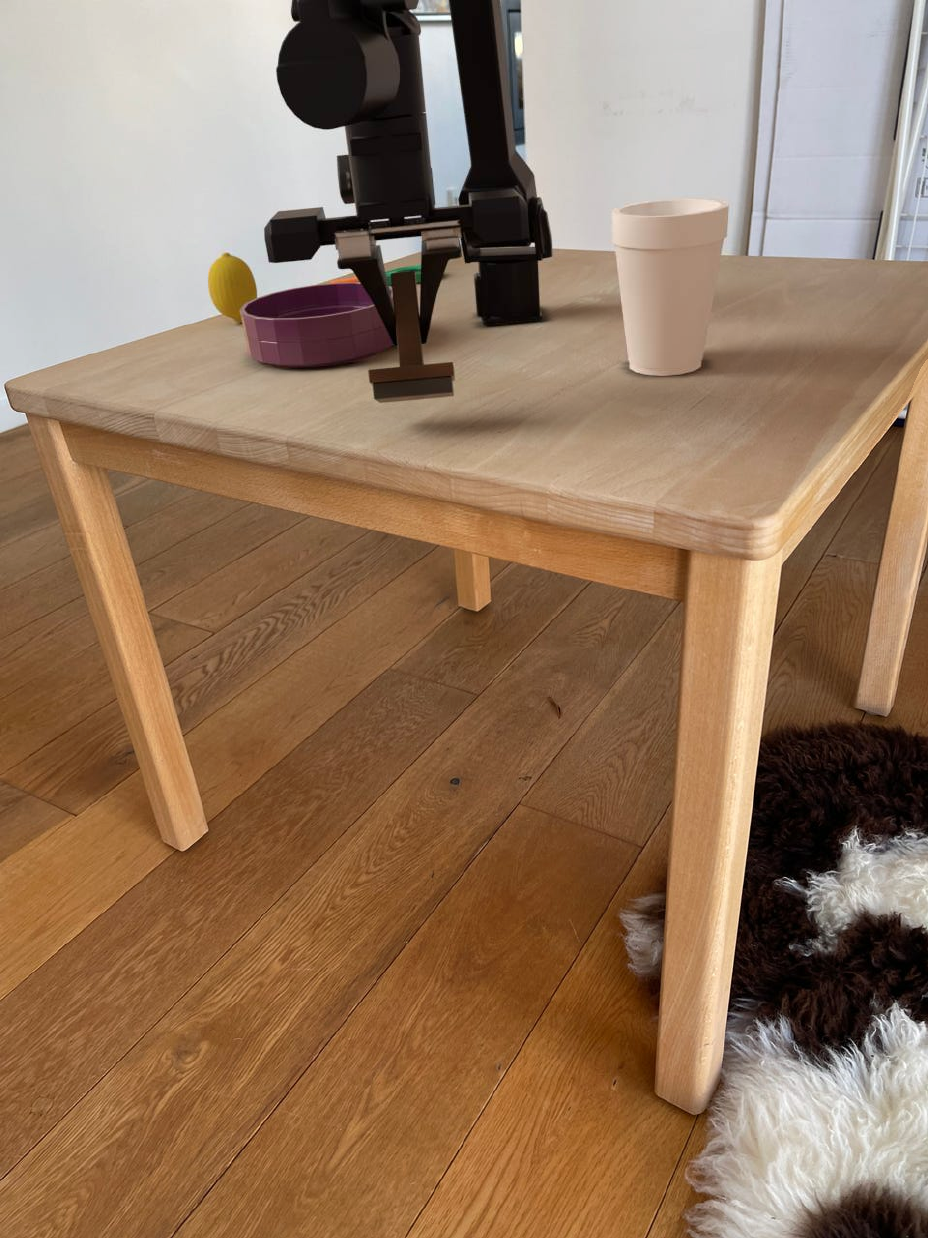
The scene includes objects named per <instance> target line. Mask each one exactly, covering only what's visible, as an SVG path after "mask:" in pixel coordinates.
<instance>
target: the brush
mask: <svg viewBox="0 0 928 1238" xmlns="http://www.w3.org/2000/svg"><path fill="white" fill-rule="evenodd" d="M391 283H392V285H391V287H392V293H393V303H394V313H395V323H396V334H397V344H398V347H397V354H398V364H399V366H393V367H382V368H381V367H380V368H372V369H371V368H370V369H368V370H367V373H368V382H369V384H370V385H371V386H372V392H373V399H374V400H375V401H376V402H377V403H379V404H384V403H385V404H386V403H396V402H397V403H398V402H406V401H418V400H419V401H420V400H428V399H437V398H438V399H439V398H448V397H449V398H450V397H454V396H455V391H454V382H455V381H456V374H455V373H456V372H455V366H454V362H453V361H447V362H446V361H445V362H439V363H438V362H436V363H425V359H424V350H423V349H424V348H423V344H422V341H421V333H420V325H419V321H420V304H419V296H418V283H416V275H415V272H414V271H408V272H398V273H391Z"/></svg>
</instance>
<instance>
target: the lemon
mask: <svg viewBox="0 0 928 1238" xmlns="http://www.w3.org/2000/svg"><path fill="white" fill-rule="evenodd" d="M207 276H208V277H207V286H208V287H207V289H208V293H209V296H210V299H211V301H212V304H213V305H214V307H215V309H216V310H217V311H218V312H219V313H220V314H222V315H223V316H225V317H227V318H230V319H232V320H233V321H235V322H236V323H238V324H240V323H242V320H241V315H240V309H241V307H242V306H243V305H244V304H245V303H247V302H249V301H251V300H253V299H255V298H258V288H257V283H256V279H255V276H254V273H253V272H252V270H251V268H250V266H249V265H248V264H247V262H245V261H244V260H243V259H242V258H239V256H238V257H237V256H234V255H232V254H230V252H223V253H222V254H221V256H219V257H218V258H217V259H215V261H213V262H212V264H211V266H210V267H209V270H208V274H207Z"/></svg>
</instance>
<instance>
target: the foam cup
mask: <svg viewBox="0 0 928 1238" xmlns="http://www.w3.org/2000/svg"><path fill="white" fill-rule="evenodd" d="M729 207H730V206H729V202H728V201H724V200H719V199H715V198H714V199H713V198H710V199H709V198H670V199H659V200H658V199H657V200H648V201H640V202H636V203H630V204H624V205H622V206H619V207H615V208H613V209H612V211H611V244H613V246H614V254H615V260H616V267H617V268H616V269H617V270H616V271H617V278H618V288H619V293H620V294H619V295H620V300H621V301H620V302H621V303H620V304H621V310H622V319H623V327H624V336H625V344H626V351H627V359H628V362H629V370H631V371H633V372H634V373H637V374H640V375H646V376H655V377H657V376H660V377H661V376H662V377H667V376H668V377H669V376H678V375H685V374H688V373H692V372H695V371H697V370H698V369H700V368H701V367H702V360H703V359H704V354H705V347H706V343H707V337H708V330H709V326H710V325H709V324H710V320H711V314H712V309H713V303H714V297H715V292H716V286H717V280H718V275H719V271H720V270H719V269H720V264H721V258H722V252H723V247H724V242H725V239H726V238H727V237H728V224H729Z"/></svg>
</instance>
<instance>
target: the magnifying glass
mask: <svg viewBox="0 0 928 1238" xmlns="http://www.w3.org/2000/svg"><path fill="white" fill-rule="evenodd" d="M408 271H414V272H415V275H416V284H418V283H421V264H418V265H417V264H416V265H407V266H401V267H396V268H393V269H390V270H389V269H388V270H385V273H386V277H387V281H388V286H392V283H391V273H398V272H408ZM349 282H359V280H358V279H357V277H356V276H355V277H349V278H341V279H335V280H330V281H329V284H330V283H349Z"/></svg>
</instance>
